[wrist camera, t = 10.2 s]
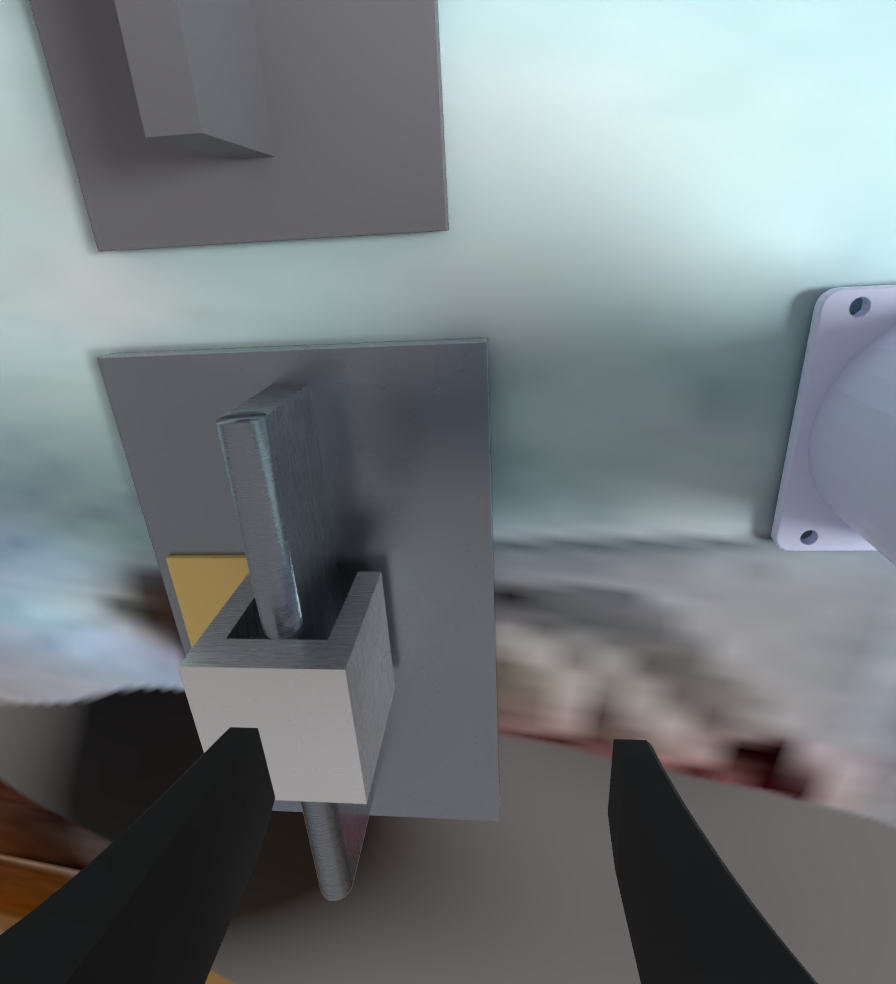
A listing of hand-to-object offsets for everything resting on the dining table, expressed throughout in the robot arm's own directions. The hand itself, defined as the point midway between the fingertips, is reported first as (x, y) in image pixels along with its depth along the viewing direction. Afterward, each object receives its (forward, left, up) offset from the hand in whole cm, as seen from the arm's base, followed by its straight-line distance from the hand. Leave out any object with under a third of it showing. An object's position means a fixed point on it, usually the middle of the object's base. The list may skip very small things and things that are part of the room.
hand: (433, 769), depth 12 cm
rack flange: (+5, +3, -9) cm, 11 cm away
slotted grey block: (+5, +3, -8) cm, 10 cm away
